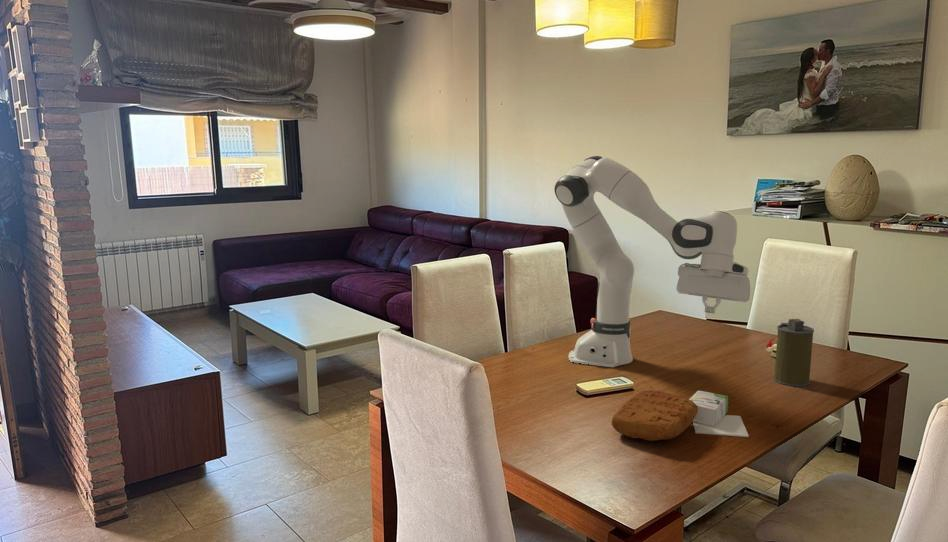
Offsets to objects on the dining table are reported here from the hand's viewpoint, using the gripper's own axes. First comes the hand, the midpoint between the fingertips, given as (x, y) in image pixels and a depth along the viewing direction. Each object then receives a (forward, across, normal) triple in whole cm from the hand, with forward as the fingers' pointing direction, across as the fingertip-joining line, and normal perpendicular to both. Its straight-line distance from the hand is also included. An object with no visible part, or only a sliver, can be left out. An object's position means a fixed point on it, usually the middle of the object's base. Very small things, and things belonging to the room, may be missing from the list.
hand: (709, 312), depth 187 cm
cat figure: (+4, +26, +62) cm, 67 cm away
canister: (+14, +27, +31) cm, 44 cm away
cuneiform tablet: (+36, -9, -18) cm, 41 cm away
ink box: (+25, +4, -1) cm, 25 cm away
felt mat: (+31, +6, -9) cm, 33 cm away
